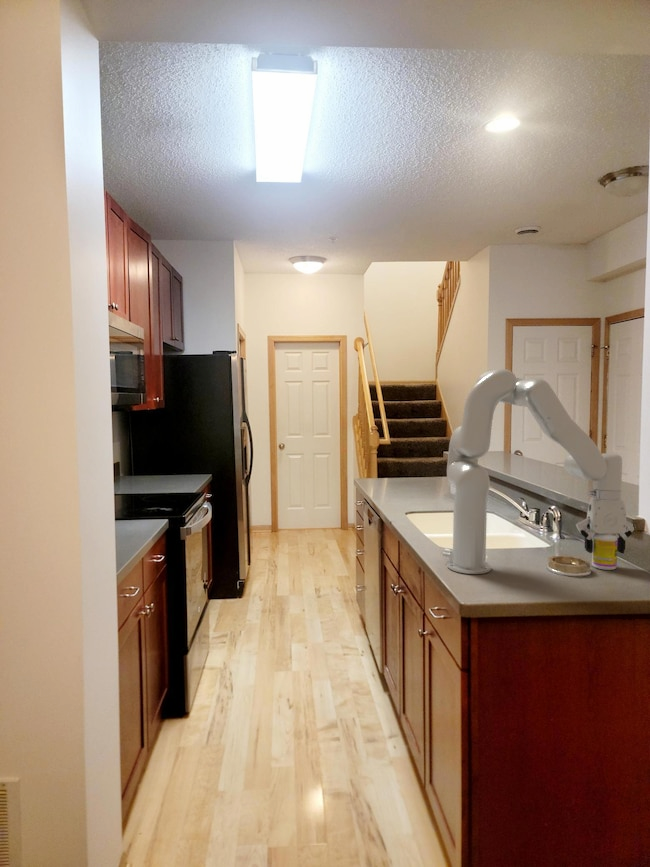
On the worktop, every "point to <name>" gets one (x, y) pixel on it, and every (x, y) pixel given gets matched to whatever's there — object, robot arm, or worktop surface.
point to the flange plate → (568, 566)
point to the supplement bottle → (604, 551)
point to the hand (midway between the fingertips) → (604, 551)
